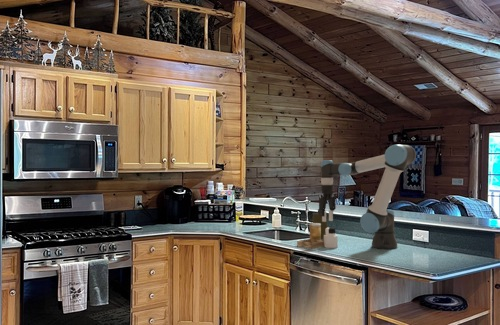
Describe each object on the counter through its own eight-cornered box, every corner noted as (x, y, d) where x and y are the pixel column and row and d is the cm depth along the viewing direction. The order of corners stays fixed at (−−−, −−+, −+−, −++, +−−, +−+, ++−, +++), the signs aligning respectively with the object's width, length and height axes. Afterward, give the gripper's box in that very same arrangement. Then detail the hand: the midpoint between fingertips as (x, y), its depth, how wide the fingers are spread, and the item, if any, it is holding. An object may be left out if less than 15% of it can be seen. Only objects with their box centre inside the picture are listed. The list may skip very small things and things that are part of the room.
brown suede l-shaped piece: (334, 244, 307) (334, 224, 307) (310, 248, 294) (310, 227, 295) (316, 241, 320) (316, 222, 320) (293, 245, 307) (293, 225, 307)
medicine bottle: (335, 246, 302) (334, 226, 302) (337, 248, 294) (337, 228, 294) (323, 246, 301) (323, 226, 301) (325, 248, 294) (325, 228, 294)
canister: (327, 239, 327) (327, 210, 327) (312, 239, 329) (311, 209, 330) (328, 237, 338) (328, 208, 338) (313, 237, 340) (313, 208, 340)
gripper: (332, 183, 317) (333, 219, 317) (312, 184, 305) (312, 221, 305) (341, 184, 311) (341, 220, 311) (321, 185, 299) (321, 222, 299)
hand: (327, 221), depth 308 cm, fingers open, 5 cm apart
